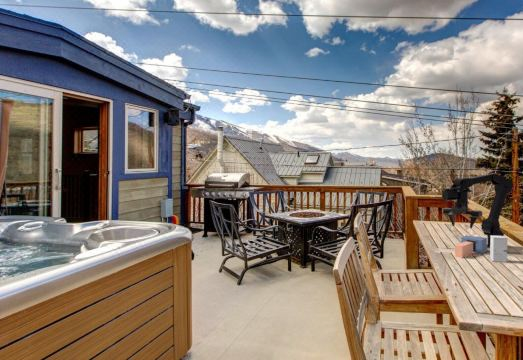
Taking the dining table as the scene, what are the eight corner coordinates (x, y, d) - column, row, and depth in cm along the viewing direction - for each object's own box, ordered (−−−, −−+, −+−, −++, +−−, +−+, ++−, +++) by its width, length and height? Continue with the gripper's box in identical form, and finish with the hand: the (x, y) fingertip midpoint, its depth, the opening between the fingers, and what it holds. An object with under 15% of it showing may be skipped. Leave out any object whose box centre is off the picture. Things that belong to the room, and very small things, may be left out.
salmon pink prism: (466, 252, 177) (465, 241, 176) (473, 253, 174) (473, 242, 173) (454, 256, 169) (454, 245, 169) (462, 257, 166) (462, 246, 166)
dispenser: (466, 248, 184) (466, 235, 184) (486, 251, 176) (486, 238, 176) (460, 250, 180) (460, 237, 180) (481, 254, 172) (481, 240, 172)
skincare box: (493, 261, 159) (493, 237, 158) (489, 259, 163) (489, 235, 163) (507, 262, 157) (507, 237, 156) (504, 259, 161) (504, 235, 161)
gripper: (438, 200, 187) (438, 226, 188) (474, 202, 172) (474, 231, 173) (447, 198, 194) (447, 224, 194) (482, 200, 179) (482, 228, 179)
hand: (462, 227), depth 185 cm, fingers open, 9 cm apart
